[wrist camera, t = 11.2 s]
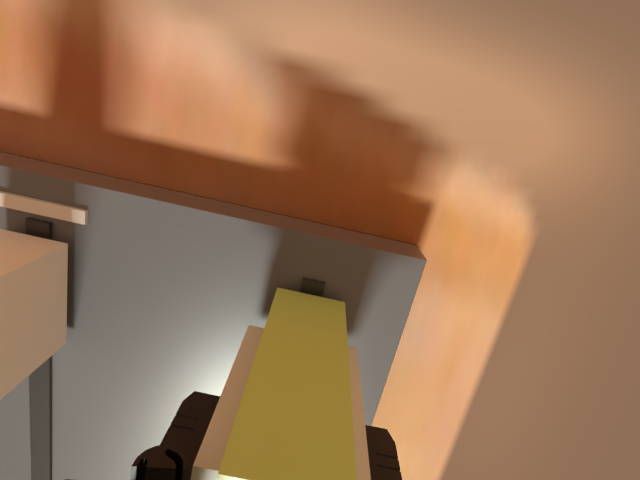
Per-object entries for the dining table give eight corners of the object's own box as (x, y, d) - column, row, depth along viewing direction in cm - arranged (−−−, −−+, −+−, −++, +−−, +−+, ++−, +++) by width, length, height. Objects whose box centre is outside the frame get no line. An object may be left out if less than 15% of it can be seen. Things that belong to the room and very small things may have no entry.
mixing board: (-4, 514, 25) (-35, 550, 23) (-27, 145, 18) (-76, 149, 15) (310, 573, 26) (309, 613, 24) (416, 245, 18) (427, 262, 16)
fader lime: (257, 381, 18) (190, 622, 10) (277, 287, 16) (217, 473, 8) (319, 394, 18) (308, 643, 10) (345, 302, 17) (357, 501, 8)
